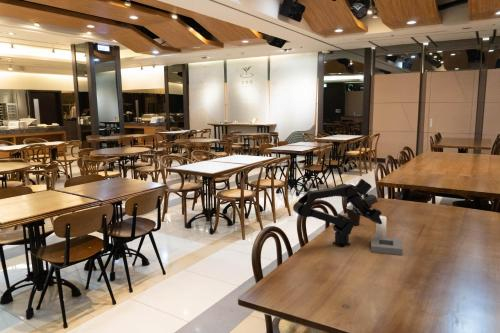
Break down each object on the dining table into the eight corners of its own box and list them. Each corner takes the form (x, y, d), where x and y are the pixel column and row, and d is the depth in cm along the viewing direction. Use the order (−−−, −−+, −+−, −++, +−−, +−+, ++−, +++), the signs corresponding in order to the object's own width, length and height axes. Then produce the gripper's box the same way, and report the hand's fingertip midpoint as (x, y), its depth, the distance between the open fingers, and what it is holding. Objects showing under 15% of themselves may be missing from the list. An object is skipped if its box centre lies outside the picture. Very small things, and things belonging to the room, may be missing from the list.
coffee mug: (357, 227, 215) (358, 210, 214) (343, 224, 220) (344, 208, 219) (365, 222, 224) (365, 206, 223) (351, 219, 230) (351, 204, 228)
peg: (381, 241, 193) (382, 219, 191) (373, 238, 197) (374, 216, 195) (387, 239, 195) (388, 217, 194) (380, 236, 200) (380, 215, 198)
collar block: (370, 252, 179) (371, 246, 179) (371, 241, 193) (371, 236, 192) (402, 255, 175) (402, 249, 175) (400, 244, 188) (400, 238, 188)
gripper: (378, 194, 181) (397, 214, 186) (358, 186, 199) (375, 204, 203) (363, 211, 180) (383, 231, 185) (344, 202, 198) (362, 220, 203)
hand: (376, 221), depth 194 cm, fingers open, 9 cm apart
